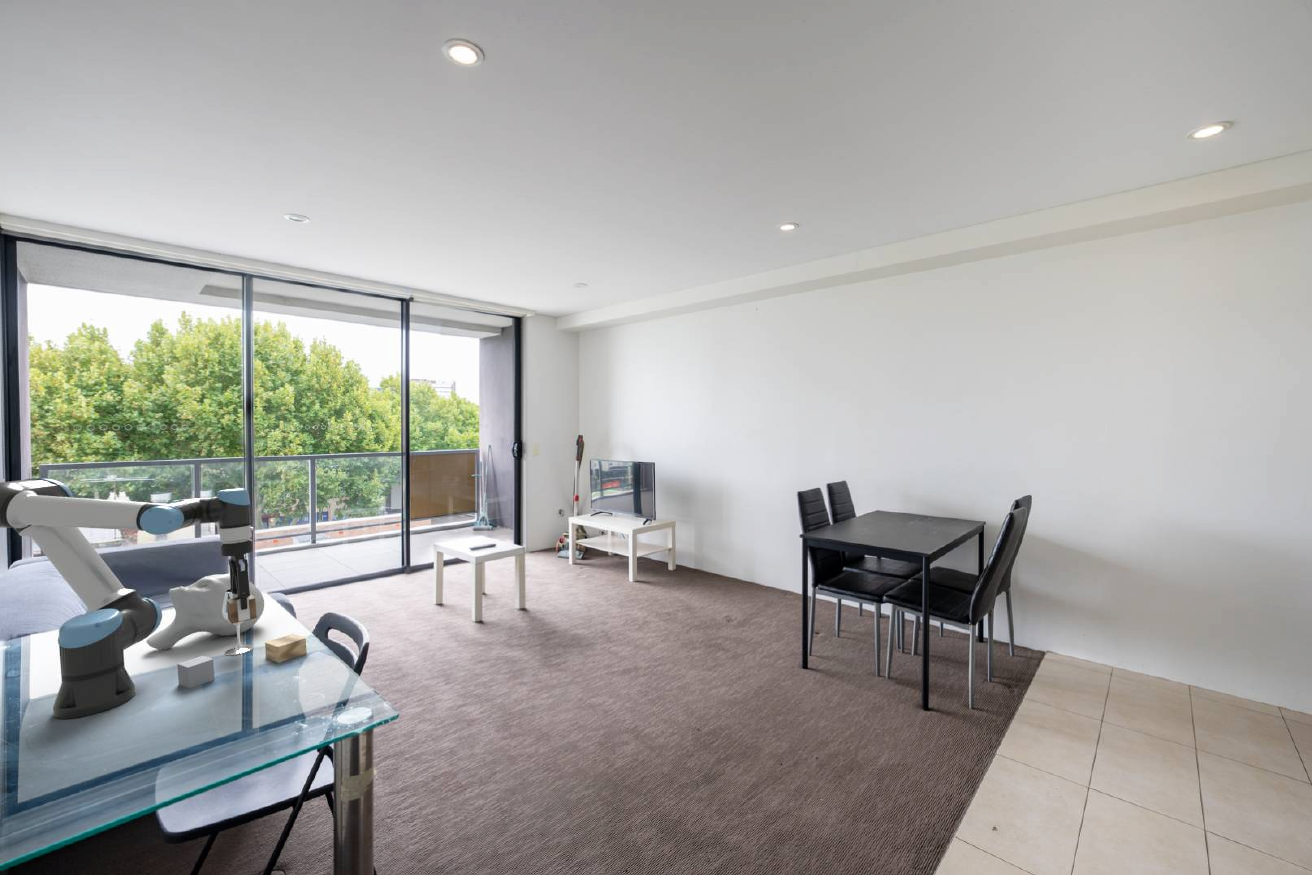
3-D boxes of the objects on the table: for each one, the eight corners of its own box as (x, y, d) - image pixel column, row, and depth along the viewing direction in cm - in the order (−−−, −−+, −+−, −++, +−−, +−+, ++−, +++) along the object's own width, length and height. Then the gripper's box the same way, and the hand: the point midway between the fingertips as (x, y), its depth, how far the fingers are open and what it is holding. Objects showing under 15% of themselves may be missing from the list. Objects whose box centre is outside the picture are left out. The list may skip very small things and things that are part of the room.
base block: (278, 663, 168) (278, 647, 168) (265, 658, 172) (265, 642, 172) (306, 653, 175) (305, 637, 175) (293, 649, 179) (292, 633, 179)
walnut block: (231, 623, 161) (230, 603, 161) (228, 619, 165) (226, 599, 165) (256, 617, 165) (255, 598, 165) (252, 613, 169) (251, 594, 169)
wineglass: (241, 655, 175) (238, 592, 174) (217, 656, 175) (214, 593, 174) (260, 645, 182) (256, 585, 182) (236, 646, 183) (233, 586, 182)
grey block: (189, 688, 153) (187, 667, 153) (178, 684, 156) (177, 663, 155) (214, 679, 158) (213, 659, 158) (204, 675, 161) (202, 655, 161)
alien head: (119, 607, 182) (227, 550, 204) (163, 664, 190) (263, 604, 212) (129, 620, 168) (243, 558, 190) (175, 680, 176) (280, 614, 198)
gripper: (259, 542, 161) (264, 620, 161) (245, 534, 174) (250, 607, 174) (226, 547, 155) (232, 628, 156) (215, 539, 168) (220, 614, 169)
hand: (241, 617), depth 165 cm, fingers closed on walnut block, 6 cm apart
